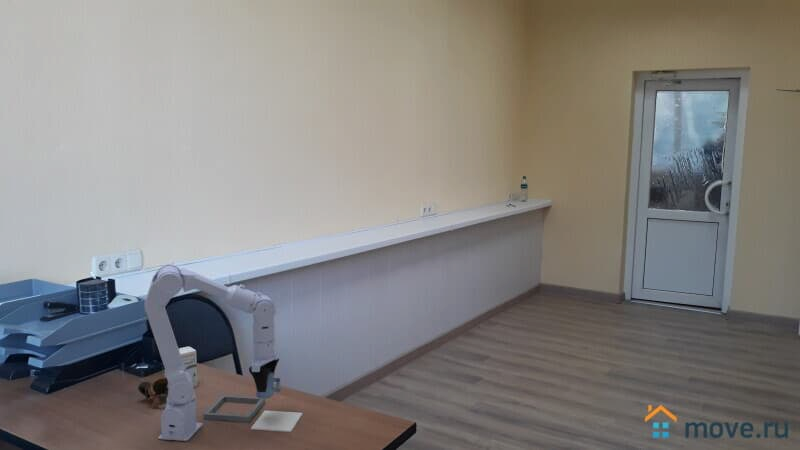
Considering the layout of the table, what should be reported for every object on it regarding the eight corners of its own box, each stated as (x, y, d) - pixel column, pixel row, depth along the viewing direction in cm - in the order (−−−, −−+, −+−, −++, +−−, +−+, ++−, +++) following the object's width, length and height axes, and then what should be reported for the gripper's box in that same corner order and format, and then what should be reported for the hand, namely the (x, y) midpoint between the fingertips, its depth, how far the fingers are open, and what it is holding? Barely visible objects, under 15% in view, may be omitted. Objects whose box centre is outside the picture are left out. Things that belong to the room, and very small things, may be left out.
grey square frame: (249, 422, 172) (249, 417, 172) (203, 419, 173) (203, 414, 173) (265, 402, 185) (265, 397, 184) (222, 400, 186) (222, 395, 186)
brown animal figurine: (182, 395, 191) (184, 377, 186) (171, 420, 183) (172, 402, 178) (142, 386, 190) (143, 367, 185) (129, 411, 182) (130, 392, 177)
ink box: (171, 393, 191) (170, 355, 189) (164, 388, 194) (163, 351, 193) (198, 385, 197) (197, 349, 195) (191, 381, 200) (189, 345, 199)
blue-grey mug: (253, 398, 171) (253, 377, 170) (259, 391, 176) (259, 370, 175) (277, 399, 170) (276, 378, 169) (282, 392, 175) (282, 371, 174)
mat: (291, 432, 166) (291, 430, 166) (250, 429, 168) (250, 427, 168) (302, 414, 177) (302, 412, 177) (264, 411, 178) (264, 410, 178)
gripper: (269, 349, 163) (270, 399, 165) (286, 332, 178) (286, 378, 179) (243, 348, 164) (244, 397, 166) (261, 331, 178) (263, 377, 180)
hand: (265, 387), depth 173 cm, fingers closed on blue-grey mug, 5 cm apart
